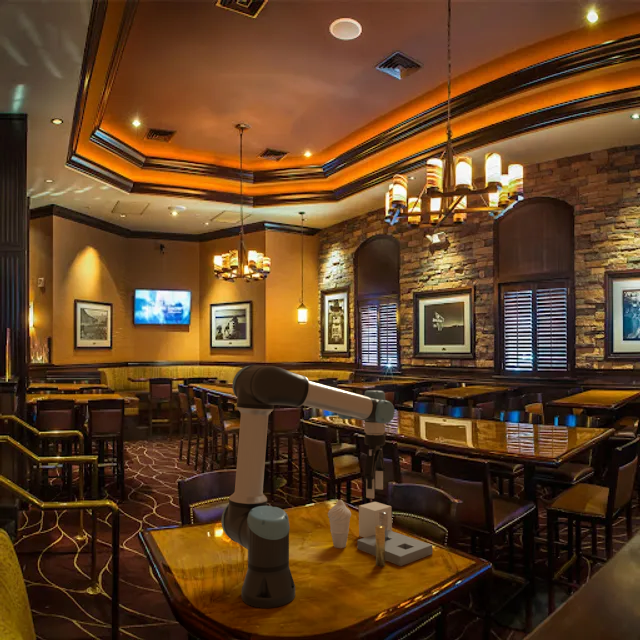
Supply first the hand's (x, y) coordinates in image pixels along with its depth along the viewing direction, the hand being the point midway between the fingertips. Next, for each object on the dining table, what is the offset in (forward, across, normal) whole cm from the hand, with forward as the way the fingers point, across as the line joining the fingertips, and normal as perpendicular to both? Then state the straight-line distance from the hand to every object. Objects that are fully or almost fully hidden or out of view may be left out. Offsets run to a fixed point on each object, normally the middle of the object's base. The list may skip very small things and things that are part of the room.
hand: (374, 493), depth 192 cm
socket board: (+18, -4, -8) cm, 20 cm away
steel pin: (+18, -2, -4) cm, 18 cm away
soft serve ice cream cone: (+18, -6, +11) cm, 22 cm away
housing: (+18, +8, +2) cm, 20 cm away
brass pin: (+18, -17, -6) cm, 26 cm away
